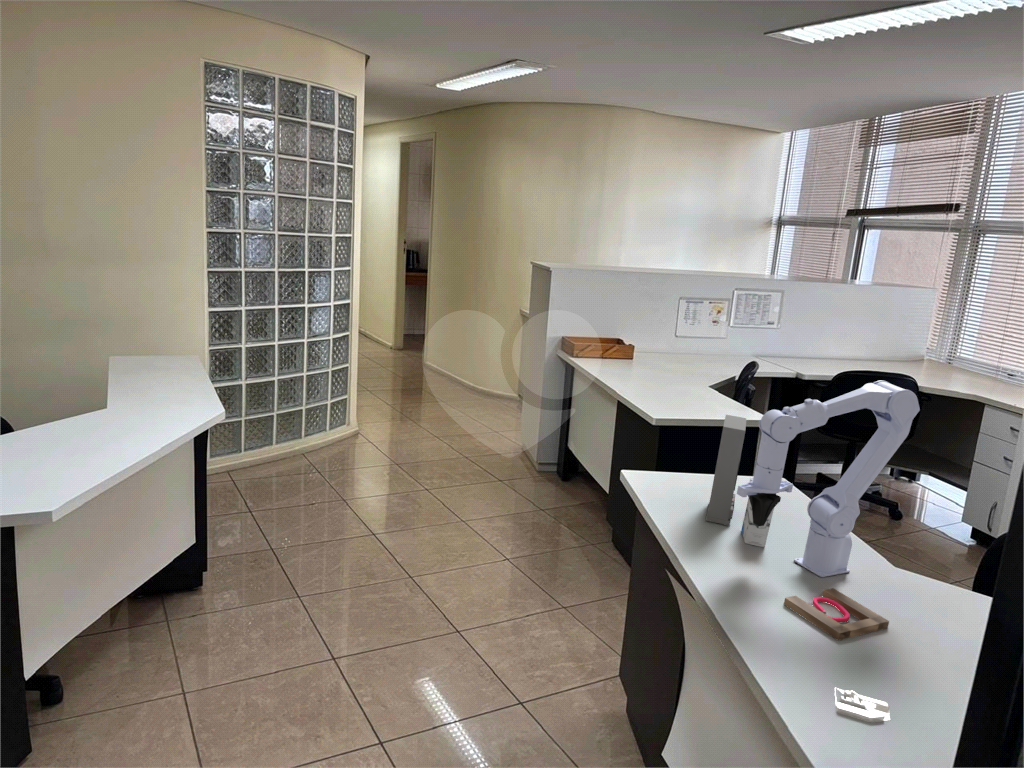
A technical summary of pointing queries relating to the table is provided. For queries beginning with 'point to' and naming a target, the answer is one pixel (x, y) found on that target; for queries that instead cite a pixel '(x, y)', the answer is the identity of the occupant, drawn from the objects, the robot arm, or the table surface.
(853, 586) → the table surface
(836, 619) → the fitness band
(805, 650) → the table surface
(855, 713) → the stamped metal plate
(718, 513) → the tall grey pillar
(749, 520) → the ink box
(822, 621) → the notched board
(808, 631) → the table surface
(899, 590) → the table surface
